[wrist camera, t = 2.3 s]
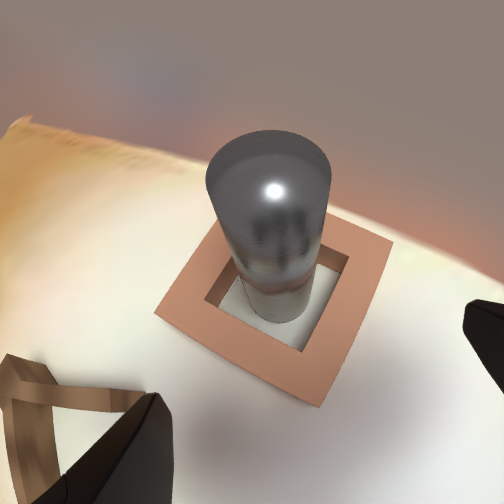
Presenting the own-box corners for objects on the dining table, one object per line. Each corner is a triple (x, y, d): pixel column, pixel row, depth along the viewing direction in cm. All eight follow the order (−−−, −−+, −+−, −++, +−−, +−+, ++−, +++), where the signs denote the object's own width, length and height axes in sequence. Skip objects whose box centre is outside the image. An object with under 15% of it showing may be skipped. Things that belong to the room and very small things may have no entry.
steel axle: (306, 264, 22) (319, 127, 11) (312, 320, 20) (342, 219, 9) (248, 268, 23) (209, 136, 11) (250, 324, 21) (201, 229, 9)
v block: (155, 401, 19) (120, 400, 14) (62, 507, 14) (26, 517, 10) (80, 317, 22) (43, 298, 18) (6, 426, 18) (-30, 422, 13)
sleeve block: (382, 260, 22) (393, 242, 19) (314, 405, 18) (319, 407, 15) (250, 203, 26) (245, 180, 23) (169, 323, 21) (153, 312, 19)
